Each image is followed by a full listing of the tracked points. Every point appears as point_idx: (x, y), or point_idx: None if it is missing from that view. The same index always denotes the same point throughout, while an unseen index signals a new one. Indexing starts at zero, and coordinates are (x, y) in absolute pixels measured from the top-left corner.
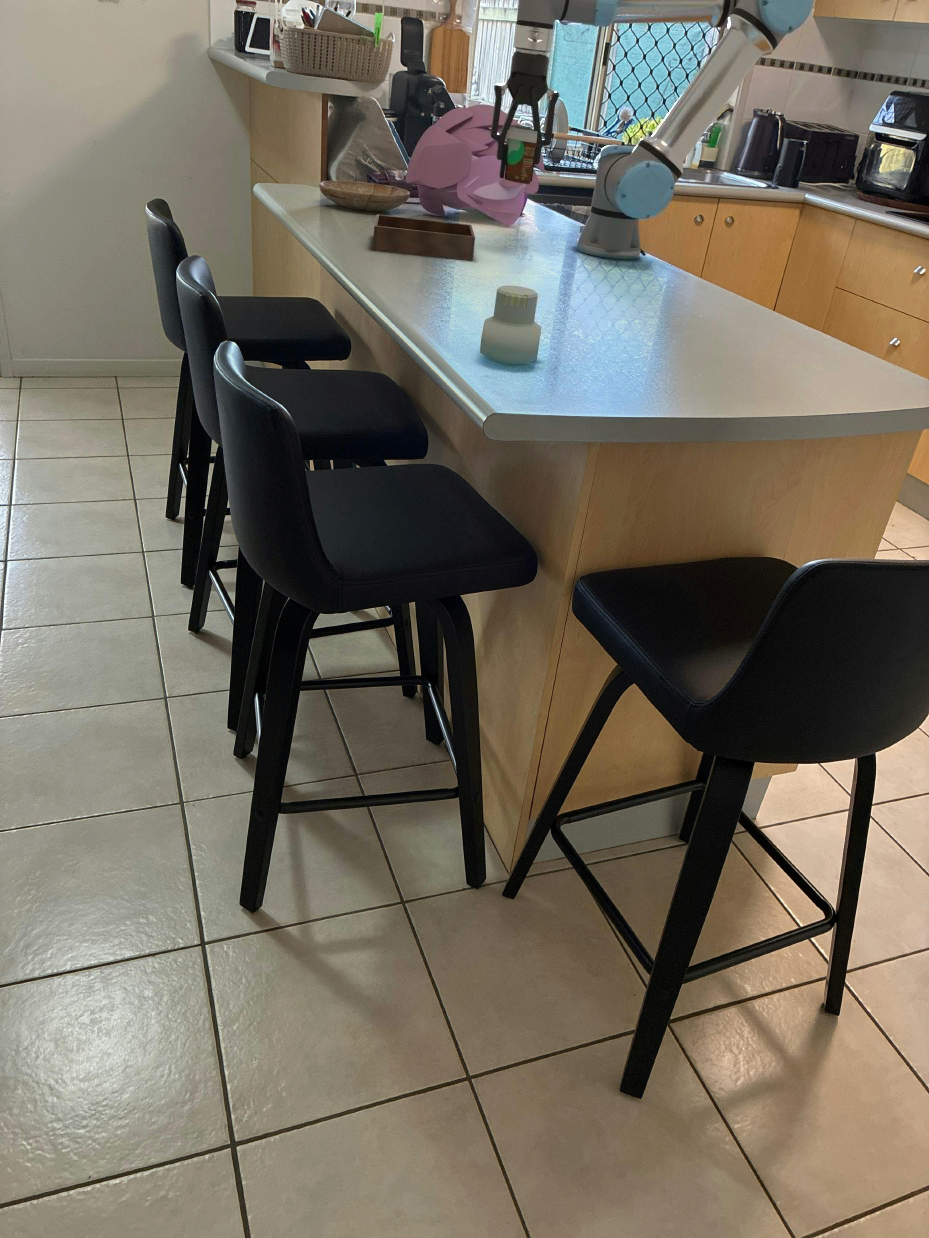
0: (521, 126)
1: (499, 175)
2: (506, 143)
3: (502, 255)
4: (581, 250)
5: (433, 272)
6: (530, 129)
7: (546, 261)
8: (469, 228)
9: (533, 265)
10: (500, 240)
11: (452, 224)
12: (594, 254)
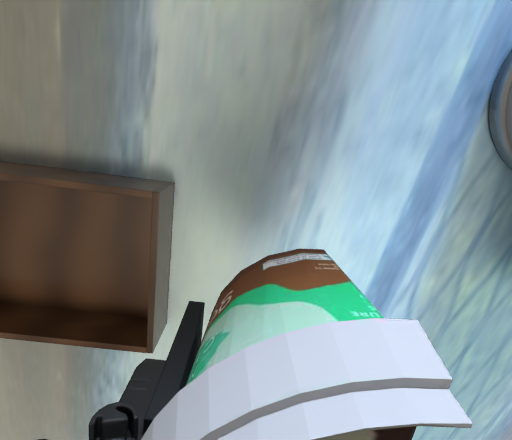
0: (320, 436)
1: (188, 305)
2: None
3: (245, 240)
4: (491, 121)
5: (87, 425)
6: (440, 405)
7: (340, 265)
8: (151, 234)
9: None
10: (285, 30)
11: (106, 191)
12: (507, 162)
